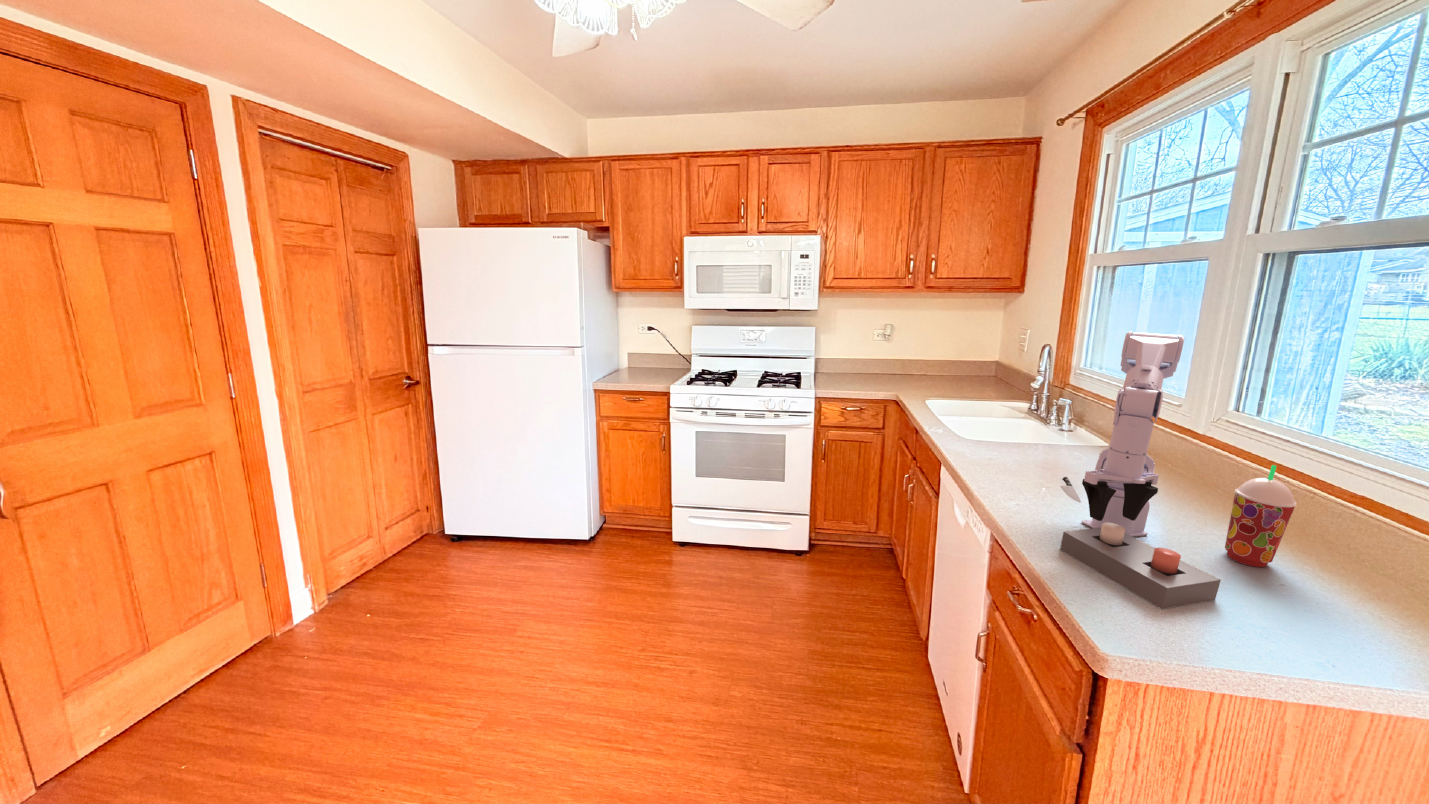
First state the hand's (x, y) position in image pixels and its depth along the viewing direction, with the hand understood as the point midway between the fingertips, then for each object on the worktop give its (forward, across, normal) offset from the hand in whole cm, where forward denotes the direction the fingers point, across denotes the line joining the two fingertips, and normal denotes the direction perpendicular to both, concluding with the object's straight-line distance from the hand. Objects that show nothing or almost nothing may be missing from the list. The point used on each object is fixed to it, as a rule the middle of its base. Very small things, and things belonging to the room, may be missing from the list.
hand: (1112, 518), depth 102 cm
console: (+9, +1, -5) cm, 10 cm away
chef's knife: (+7, +22, +32) cm, 39 cm away
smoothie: (+8, +29, -4) cm, 31 cm away
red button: (+5, +1, -10) cm, 11 cm away
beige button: (+5, +1, 0) cm, 5 cm away
